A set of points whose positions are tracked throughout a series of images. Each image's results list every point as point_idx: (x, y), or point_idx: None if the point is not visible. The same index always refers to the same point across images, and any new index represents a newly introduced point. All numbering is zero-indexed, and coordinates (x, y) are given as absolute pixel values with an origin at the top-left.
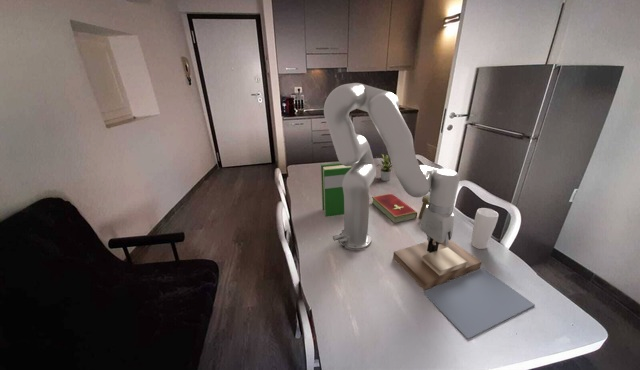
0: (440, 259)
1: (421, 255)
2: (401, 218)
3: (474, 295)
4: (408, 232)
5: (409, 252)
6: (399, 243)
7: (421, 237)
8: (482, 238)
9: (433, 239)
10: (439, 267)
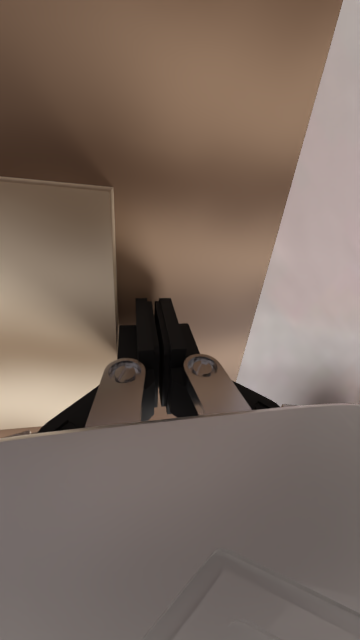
0: (2, 302)
1: (159, 228)
2: None
3: None
4: (348, 332)
5: (239, 157)
6: (344, 225)
7: (285, 359)
8: None
9: (138, 413)
10: None
